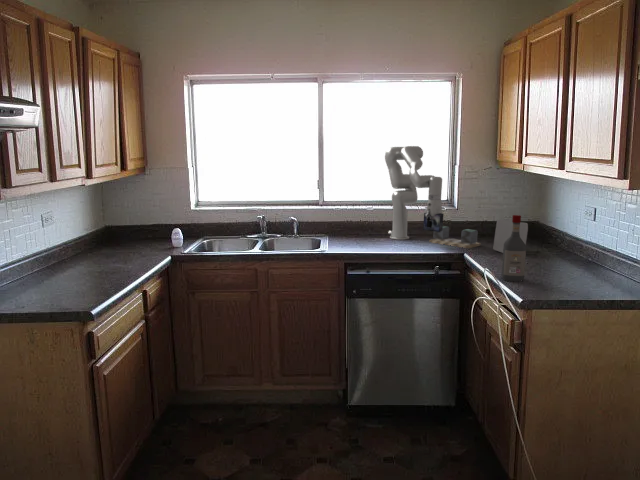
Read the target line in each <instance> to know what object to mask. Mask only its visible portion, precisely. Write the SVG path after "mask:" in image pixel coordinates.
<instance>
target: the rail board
mask: <svg viewBox="0 0 640 480" xmlns="http://www.w3.org/2000/svg"><path fill="white" fill-rule="evenodd" d="M432 232H433V235H432V236H433V237H432V238H433V239H429V243H430V242H431V243H432V244H437V243H438V245H443V244H445V245H444V246H450V245H451V247H456V246H457V247H458V248H462V247H463V248H464V249H471V248H476V247H479V246H481V242H478V236H479V233H478V230H477V229H469V228H467V229H463V230H461V233H460V239H457V238H450V226H448V225H447V226H446V225H443V230H442V231H440V232H435V231H432Z"/></svg>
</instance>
